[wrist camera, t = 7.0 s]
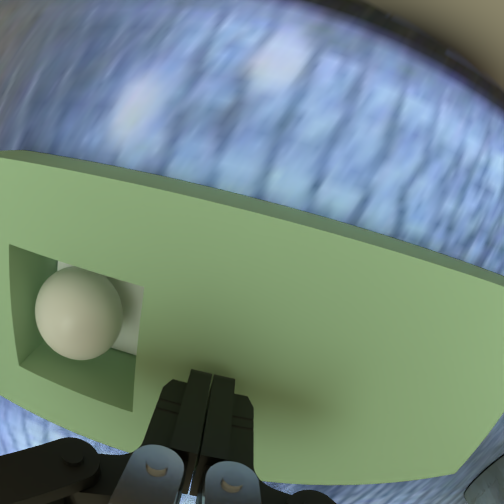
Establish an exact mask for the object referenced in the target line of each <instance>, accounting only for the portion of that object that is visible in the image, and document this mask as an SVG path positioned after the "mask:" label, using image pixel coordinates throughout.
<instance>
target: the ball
mask: <svg viewBox="0 0 504 504" xmlns="http://www.w3.org/2000/svg"><path fill="white" fill-rule="evenodd" d="M35 318H36V323H37V327H38V329H39V332H40V334H41V336H42V337H43V339H44V340H45V342H46V343H47V344H48V345H49V346H50V347H51V348H52V349H53V350H54V351H55V352H57V353H58V354H60V355H62V356H64V357H67V358H70V359H74V360H89V359H93V358H96V357H98V356H100V355H102V354H104V353H105V352H106V351H108V350H109V349H110V348H111V347H112V346H113V344H114V343H115V342H116V340H117V338H118V336H119V334H120V331H121V328H122V322H123V309H122V303H121V300H120V297H119V295H118V293H117V291H116V289H115V288H114V286H113V285H112V283H111V282H110V281H109V280H108V279H107V278H106V277H105V276H103V275H102V274H98V273H95V272H92V271H89V270H86V269H82V268H79V267H76V266H71V267H66V268H63V269H61V270H59V271H57V272H55V273H54V274H52V275H51V276H50V277H49V278H48V279H47V280H46V281H45V282H44V283H43V285H42V286H41V288H40V290H39V293H38V295H37V298H36V304H35Z"/></svg>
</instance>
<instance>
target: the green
mask: <svg viewBox="0 0 504 504" xmlns="http://www.w3.org/2000/svg"><path fill="white" fill-rule="evenodd" d="M71 266H76V267H79V268H82V269H86V270H89V271H92V272H95V273H98V274H102V275H103V276H105V277H106V278H107V279H108V280H109V281H110V282H111V283H112V285H113V286H114V288H115V289H116V291H117V293H118V295H119V297H120V300H121V303H122V309H123V322H122V328H121V331H120V334H119V336H118V338H117V340H116V342H115V343H114V344H113V346H112V347H111V348H110V349H109V350H108V351H106V352H105V353H104V354H102V355H100V356H98V357H96V358H93V359H89V360H74V359H70V358H67V357H64V356H62V355H60V354H58V353H57V352H55V351H54V350H53V349H52V348H51V347H50V346H49V345H48V344H47V343H46V342H45V340H44V339H43V337H42V336H41V334H40V332H39V329H38V327H37V323H36V318H35V304H36V298H37V295H38V293H39V290H40V288H41V286H42V285H43V283H44V282H45V281H46V280H47V279H48V278H49V277H50V276H51V275H52V274H54V273H55V272H57V271H59V270H61V269H63V268H66V267H71ZM191 369H194V370H198V371H203V372H207V373H211V374H212V378H211V384H212V380H213V376H214V374H216V375H220V376H224V377H229V378H234V379H235V390H234V394H239V395H244V396H248V398H249V400H250V402H251V403H252V405H253V407H254V420H253V421H254V429H253V431H254V470H255V473H256V475H257V476H258V478H259V479H260V480H261V481H267V482H278V483H290V484H309V485H360V484H379V483H391V482H402V481H410V480H418V479H425V478H432V477H438V476H444V475H449V474H454V473H456V472H457V471H458V469H459V468H460V467H461V466H462V465H463V464H464V463H465V462H466V460H467V459H468V458H469V457H470V456H471V455H472V453H473V452H474V451H475V450H476V449H477V447H478V446H479V445H480V444H481V442H482V441H483V440H484V438H485V437H486V436H487V435H488V433H489V432H490V431H491V429H492V428H493V427H494V425H495V424H496V422H497V421H498V420H499V418H500V417H501V415H502V414H503V413H504V276H502V275H499V274H496V273H494V272H491V271H488V270H486V269H483V268H480V267H477V266H475V265H472V264H469V263H466V262H463V261H461V260H458V259H455V258H452V257H449V256H446V255H443V254H440V253H438V252H435V251H432V250H429V249H426V248H423V247H420V246H417V245H414V244H410V243H407V242H404V241H401V240H398V239H395V238H392V237H389V236H385V235H382V234H379V233H376V232H373V231H369V230H366V229H363V228H359V227H356V226H353V225H349V224H346V223H343V222H339V221H336V220H332V219H329V218H326V217H322V216H319V215H315V214H311V213H308V212H304V211H301V210H297V209H293V208H290V207H286V206H282V205H279V204H275V203H271V202H267V201H264V200H260V199H256V198H252V197H248V196H244V195H240V194H236V193H232V192H228V191H224V190H220V189H216V188H212V187H208V186H203V185H199V184H195V183H191V182H186V181H182V180H177V179H173V178H168V177H164V176H159V175H155V174H150V173H145V172H141V171H136V170H131V169H126V168H121V167H116V166H111V165H106V164H101V163H96V162H90V161H85V160H80V159H74V158H69V157H63V156H57V155H51V154H45V153H39V152H33V151H26V150H8V151H0V395H1V396H3V397H4V398H6V399H8V400H10V401H11V402H13V403H15V404H17V405H19V406H20V407H22V408H24V409H26V410H28V411H30V412H32V413H34V414H36V415H38V416H40V417H42V418H44V419H46V420H48V421H50V422H52V423H54V424H56V425H59V426H61V427H63V428H65V429H68V430H70V431H72V432H75V433H77V434H79V435H82V436H84V437H87V438H89V439H92V440H95V441H97V442H100V443H103V444H105V445H108V446H111V447H114V448H117V449H120V450H122V451H126V452H129V453H131V452H133V451H135V450H136V449H138V448H139V447H140V445H141V444H142V442H143V440H144V437H145V434H146V432H147V429H148V426H149V423H150V421H151V418H152V415H153V412H154V410H155V407H156V404H157V402H158V400H159V396H160V393H161V391H162V388H163V386H165V385H166V384H167V383H168V382H170V381H171V380H172V379H175V380H178V381H182V382H186V383H187V382H188V379H189V375H190V372H191ZM211 384H210V388H211ZM209 391H210V389H209Z"/></svg>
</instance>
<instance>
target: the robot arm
mask: <svg viewBox="0 0 504 504" xmlns="http://www.w3.org/2000/svg"><path fill="white" fill-rule="evenodd" d="M211 378H212V374H211V373H207V372H203V371H198V370H194V369H191V372H190V375H189V379H188V382H187V383H186V382H182V381H178V380H175V379H172V380H171V381H170V382H168V383H167V384H166V385H165V386H163V388H162V391H161V393H160V396H159V400H158V402H157V404H156V407H155V410H154V412H153V415H152V418H151V421H150V423H149V426H148V429H147V432H146V434H145V437H144V440H143V442H142V444H141V445H140V447H139V448H138V449H136V450H135V451H133V452H131V453H129V454H125V455H108V454H98V453H97V452H96V450H95V449H94V448H93V447H92V446H91V445H90V444H89V443H87V442H86V441H83V440H81V439H78V438H71V437H68V438H62V439H58V440H55V441H52V442H49V443H45V444H42V445H39V446H35V447H32V448H28V449H25V450H21V451H17V452H14V453H10V454H6V455H2V456H0V504H179V502H180V498H181V494H182V493H183V494H187V493H188V490H189V486H190V482H191V478H192V483H191V489H190V495H193V496H197V498H196V504H336V503H335V502H334V501H333V500H332V499H330V498H329V497H328V496H327V495H325V494H323V493H321V492H318V491H314V490H302V491H299V492H296V493H295V494H293V495H290V494H287V493H284V492H281V491H278V490H275V489H273V488H271V487H269V486H267V485H266V484H264V483H263V482H262V481H261V480H260V479H259V478H258V476H257V475H256V473H255V470H254V431H253V429H254V421H253V420H254V407H253V405H252V403H251V402H250V400H249V398H248V396H244V395H239V394H234V390H235V379H234V378H229V377H224V376H220V375H216V374H214V376H213V380H212V384H211ZM210 384H211V388H210ZM209 389H210V391H209ZM193 471H194V472H193ZM192 475H193V477H192ZM464 497H465V499H466V501H467V503H468V504H504V456H503V457H501V458H500V459H499V460H498V461H496V462H495V463H494V464H493V465H491V466H490V467H489V468H488V469H487V470H485V471H484V472H483V473H482V474H481V475H480V476H479V477H478V478H477V479H476V480H475V481H474V482H473V483H472V484H471V485H470V486H469V488H468V489H467V491H466V492H465V496H464Z"/></svg>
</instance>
